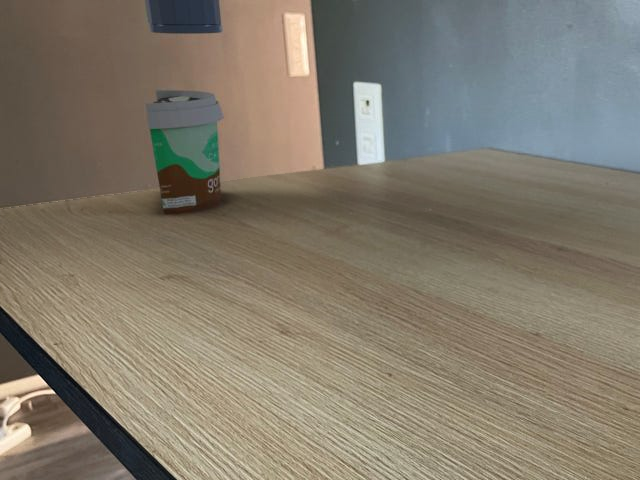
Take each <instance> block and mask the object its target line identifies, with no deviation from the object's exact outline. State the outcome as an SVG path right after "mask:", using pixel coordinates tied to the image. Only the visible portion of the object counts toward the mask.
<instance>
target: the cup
mask: <svg viewBox="0 0 640 480" xmlns="http://www.w3.org/2000/svg"><path fill="white" fill-rule="evenodd" d="M144 4H145V11H146V18H147V23H148V29H149V32H150V33H152V34H174V35H175V34H177V35H178V34H180V35H182V34H184V35H185V34H186V35H187V34H188V35H189V34H191V35H192V34H193V35H195V34H196V35H197V34H198V35H199V34H221V33H224V31H223V22H222V21H223V20H222V11H221V4H220V0H144Z"/></svg>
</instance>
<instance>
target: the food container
mask: <svg viewBox="0 0 640 480" xmlns="http://www.w3.org/2000/svg"><path fill="white" fill-rule="evenodd" d="M155 95H156V101H153V102H149V103H145V109H146V117H147V125H148V126H147V127H148V130H149V134H150V138H151V139H150V140H151V145H152V152H153V157H154V162H155V163H154V164H155V169H156V175H157V180H158V187H159V192H160V198H161V203H162V210H163V215H165V216H166V215H175V214H185V213H191V212H197V211H202V210H206V209H209V208H212V207H214V206H217V205H219V204H220V203H221V202H222V189H221V188H222V187H221V185H222V184H221V173H220V172H221V169H220V150H219V131H218V122H220V121H223V120H224V117H225V116H224V113H223V110H222V107H221V104H220V102H219V101H218V100H216V95H215V93H213V92H209V91H201V90H185V89H165V90H164V89H161V90H160V89H157V90H155Z"/></svg>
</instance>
